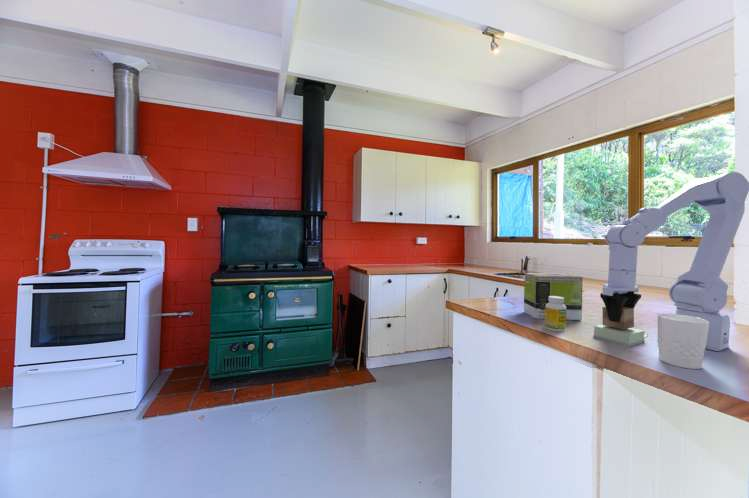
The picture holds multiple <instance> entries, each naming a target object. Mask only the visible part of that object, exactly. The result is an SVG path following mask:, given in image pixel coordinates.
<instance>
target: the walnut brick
mask: <svg viewBox="0 0 749 498" xmlns="http://www.w3.org/2000/svg"><path fill="white" fill-rule="evenodd" d="M601 308H602V324H603V325H604V326H609V327H615V328H620V329H628V328H634V327H635V315H634V314H635V312H634V311H635V307H634V308H628V307H623V310H622V314H621V319H620V321H619V322H613V321H609V318H608V314H607V310H606V306H605V305H604V306H602V307H601Z"/></svg>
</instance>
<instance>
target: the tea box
mask: <svg viewBox="0 0 749 498" xmlns="http://www.w3.org/2000/svg"><path fill="white" fill-rule="evenodd" d="M583 278H584V277H583V276H578V275H574V274H570V273H569V274H568V273H552V272H551V273H550V272H549V273H547V272H543V273H542V272H541V273H540V272H538V273H537V272H534V273H533V272H525V273H524V283H523V284H524V288H523V290H524V292H523V312H524V313H525V314H526V315H529V316H530V317H532V318H533V319H540V320H541V319H542V320H545V307H546V304H547V303H549V300H548V297H549V296H559V297H563V298H564V303H563V304H564V305H565V306H566V321H582V319H583V318H582V317H583Z"/></svg>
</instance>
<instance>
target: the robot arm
mask: <svg viewBox="0 0 749 498" xmlns="http://www.w3.org/2000/svg"><path fill="white" fill-rule="evenodd" d="M748 194H749V181H748V179H747V178H746V176H744V175H743V174H742V173H740V172H737V171H730V172H726V173H723V174H722V173H721V174H717V175H713V176H709V177H707V176H706V177H703V178H701V177H699V178H694V179H693V180H691V181H689V182H688V183H685V184H684V185H682V187H681V188H680V189H679V190H677V191H676V192H674V193H673V194H672V195H670V197H667V199H665V200H663V201H662V202H661V203H660V204H658V205H657V206H647V207H641V208H640V209H638V210H637V213H636V214H635V215H633V216H632V217H630V218H626V219H624V220H622V223H621V224H620V225H618V224H617V225H614V226H612V227H611V228H609V229H608V231H607V233H606V234H605V235H604V239H605V242H606V243H607V245H608V250H609V256H608V259H609V261H608V274H607V275H608V276H607V277H608V278H607V280H608V281H607V283H603V284H602V292H601V293H600V294H599V296H600V298H601V300H602V302H603V304H604V307H605V306H606V310H607V314H608V318H609V321H613V322H619V321H620V319H621V314H622V310H623V307H628V308H634V309H635V307H636V305H637V304H638V302H639V300H640V299H641V298H642V294H640V293H639V288H640V287H639V284H636V282H637V267H638V266H637V264H638V262H637V261H638V247H639V245H642V244H643V243H644V241H645V239H646V236H648V235H649V234H651V233H653V232H654V231H655V230H657V229H659V228H660V227H662V226H664V225H665V224H666V223H667V220H668V217H669V216H671V215H672V214H674V213H676V212H677V211H679V210H681V209H683V208H685V207H686V206H689V205H691V203H694V204H696V205H697V206H698V207H699V208H701V209H702V210H704V211H706V212H707V213H708V214H709V218H708V221H707V222H706V223H707V224H706V227H705V229H704V231H703V234H702V237H701V239H700V242H699V244H698V247H697V249H696V253H695V255H694V258H693V260H692V264H691V266H690V268H689V270H688V271H686V272H684V273H682V274H681V275H679V276H678V277H677V279H676V281H675V282H674V283H673V284H672V285H671V286H670V288H669V291H668V296H669V298H670V300H671V301H672V302H673V303H674V304H673V305H674V307H676V309H675V310H676V311H675V314H678V315H686V316H692V317H696V318H701V319H704V320H707V321H709V326H708V334H707V341H706V347H705V350H711V351H716V352H720V351H723V350H725V349H727V348H730V344H729V342H730V341H729V340H730V327H731V320H730V316H729V315H728V314H724V313H720V311H721V310H723V308H725V306H726V305H727V302H728V289H729V285H728V284H727V283H726V282H725V281H724V280H723V279H722V278H721V277H720V276H721V274H722V271H723V268H724V266H725V263H726V260H727V258H728V255H729V253H730V250H731V247H732V245H733V242H734V240H735V237H736V235H737V232H738V229H739V227H740V225H741V222H742V219H743V217H744V214H745V208H746V206H745V204H746V203H745V202H746V199H747V196H748Z"/></svg>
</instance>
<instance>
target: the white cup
mask: <svg viewBox="0 0 749 498" xmlns="http://www.w3.org/2000/svg"><path fill="white" fill-rule="evenodd" d="M708 326H709V321H707V320H704V319H701V318H696V317H692V316H686V315H678V314H676V313H664V312H663V313H657V347H658V360H660V361H661V362H662V363H666V364H667V365H671V366H675V367H679V368H684V369H691V370H701V369H702V368H703V362H704V361H703V360H704V356H705V353H706V348H705V347H706V341H707V334H708Z"/></svg>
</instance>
